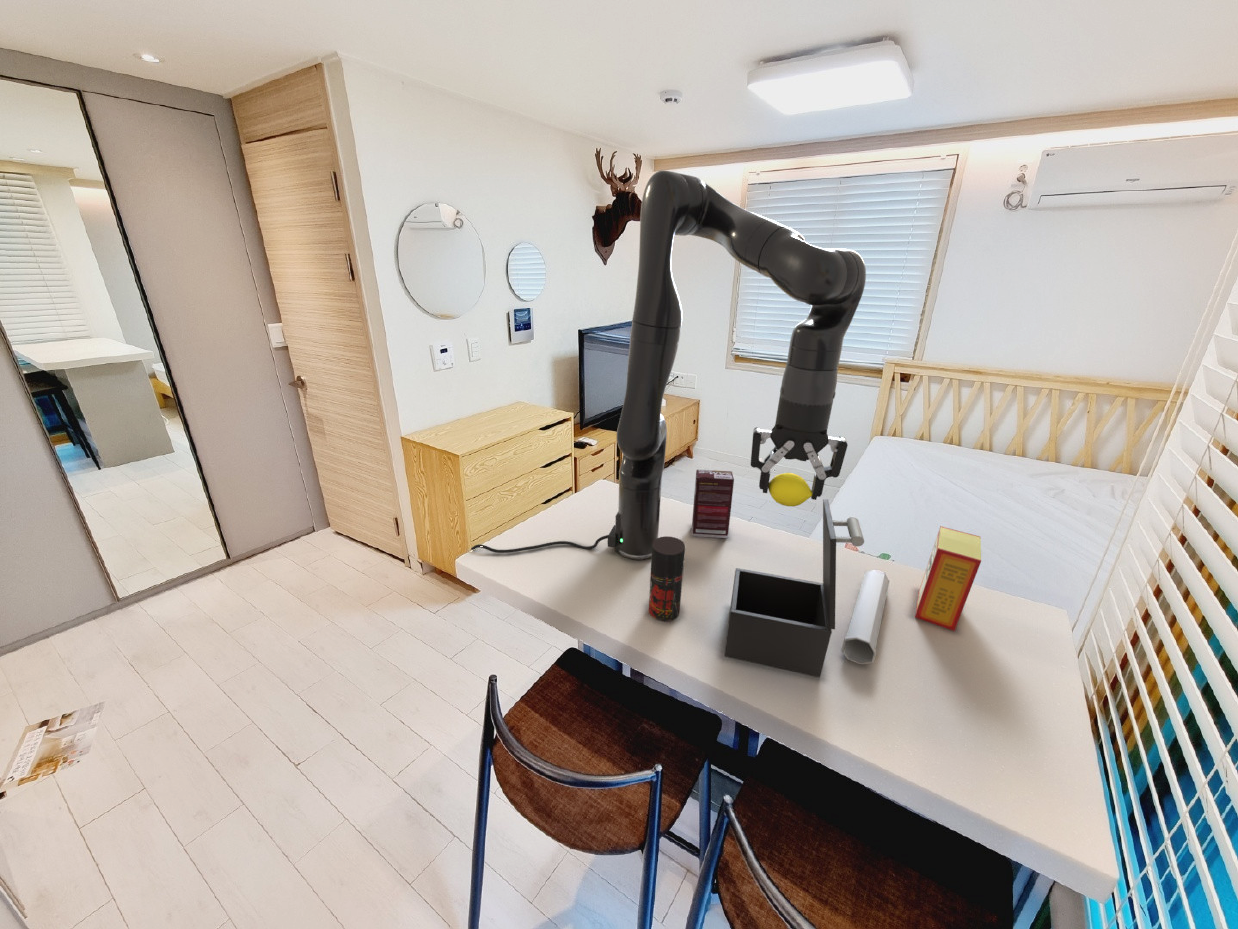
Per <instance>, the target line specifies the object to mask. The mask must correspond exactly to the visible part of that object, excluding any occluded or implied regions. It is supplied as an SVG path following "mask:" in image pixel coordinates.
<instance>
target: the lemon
mask: <svg viewBox="0 0 1238 929" xmlns="http://www.w3.org/2000/svg"><path fill="white" fill-rule="evenodd" d="M811 490H812V488H811V487H810V486H809V484H808V482H807V481H806V480H805V479H804V478H803V477H802V476H800V475H798V474H797V473H792V472H784V473H783V472H782V473H780V474H777V475H775V476H774V477H773V478H772V479H771V480H769V485H768V493H769V494H770V496H771V498H772V499H773V501H775V502H776V503H777V504H779V505H782V506H784V507H796V506H800V505H803V503H805V502H806V501H808V500H809V499H811V496H812V494H813V493H812V491H811Z"/></svg>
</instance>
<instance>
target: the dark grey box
mask: <svg viewBox="0 0 1238 929" xmlns="http://www.w3.org/2000/svg"><path fill="white" fill-rule="evenodd" d="M730 600H731V601H730V608H729V615H728V624H727V631H726V638H725V639H726V640H725V648H724V658H725V657H726V658H729V659H734V660H738V661H739V660H740V661H744V662H748V663H754V664H758V665H762V666H765V667H771V668H775V669H779V670H785V671H788V672H794V673H798V674H803V675H808V676H812V677H816V678H821V677H822V676H821V675H822V672H823V668H824V664H825V659H826V656H827V652H828V649H829V644H830V640H831V636H832V630H833V629H830V628H829V621H828V614H827V607H826V600H825V592H824V585H823V582H818V581H812V580H806V579H801V578H796V577H791V576H790V577H789V576H784V575H779V574H773V573H767V572H761V571H756V570H752V569H751V570H750V569H744V568H739V567H736V568H735V572H734V579H733V585H732V593H731V599H730Z"/></svg>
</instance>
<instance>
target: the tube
mask: <svg viewBox="0 0 1238 929" xmlns="http://www.w3.org/2000/svg"><path fill="white" fill-rule="evenodd" d="M889 585H890V580H889V578H888V576H887V574H886V573H885V572H883V571H881V570H878V569H872V570H868V571H865V572H864V575H863V578H862V581H861V585H860V589H859V592H858V596H857V599H856V602H855V606H854V610H853V613H852V616H851V619H850V623H849V627H848V630H847V633H846V636H845V637H844V638H843V642H842V646H841V651H842V652H843V654H844V656H845V657H846V659H847V660H849V661H851V662H853V663H855V664H859V665H866V664H874V662H875V658H876V654H877V650H876V647H877V643H878V638H879V633H880V628H881V623H882V618H883V614H884V610H885V609H884V608H885V604H886V600H887V594H888V590H889V587H890V586H889Z"/></svg>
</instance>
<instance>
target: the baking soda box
mask: <svg viewBox="0 0 1238 929" xmlns="http://www.w3.org/2000/svg"><path fill="white" fill-rule="evenodd" d="M981 538H982V537H981V536H980V535H976V534H972V533H968V532H965V531H961V530H956V529H953V528H949V527H946V526H941V525H940V526H939V528H938V532H937V535H936V539H935V540H934V544H933V547H932V550H931V554H930V556H929V559H928V562H927V566H926V568H925V572H924V574H923V578H922V580H921V584H920V586H919V590H918V594H917V601H916V608H915V615H914V618H915V619H917V620H921V621H924V622H927V623H930V624H933V625H935V626H938V627H941V628H945V629H946V630H950V631H953V632H955V631H956V628H957V626H958V623H959V620H960V618H961V615H962V613H963V610H964V607H965V605H966V602H967V600H968V598H969V594H970V592H971V589H972V586H973V584H974V582H975V579H976V576H977V573H978V571H979V568H980V565H981V563H982V540H981Z"/></svg>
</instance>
